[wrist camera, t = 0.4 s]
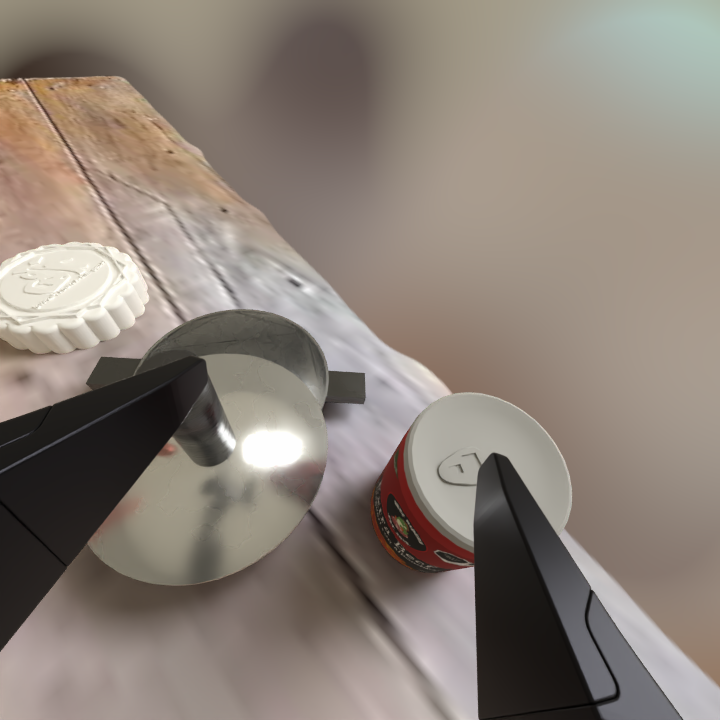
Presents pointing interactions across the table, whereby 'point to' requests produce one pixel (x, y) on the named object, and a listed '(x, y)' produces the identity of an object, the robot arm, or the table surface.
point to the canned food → (460, 478)
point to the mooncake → (68, 297)
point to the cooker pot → (247, 352)
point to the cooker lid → (221, 477)
